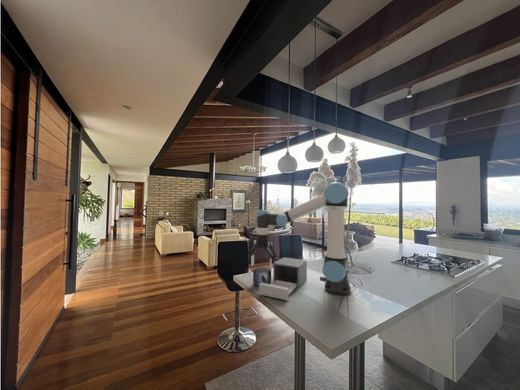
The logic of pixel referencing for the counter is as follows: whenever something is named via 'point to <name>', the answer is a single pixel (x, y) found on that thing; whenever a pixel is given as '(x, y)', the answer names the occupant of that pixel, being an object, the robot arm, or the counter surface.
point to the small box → (261, 276)
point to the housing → (290, 271)
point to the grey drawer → (277, 289)
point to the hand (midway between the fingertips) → (261, 267)
